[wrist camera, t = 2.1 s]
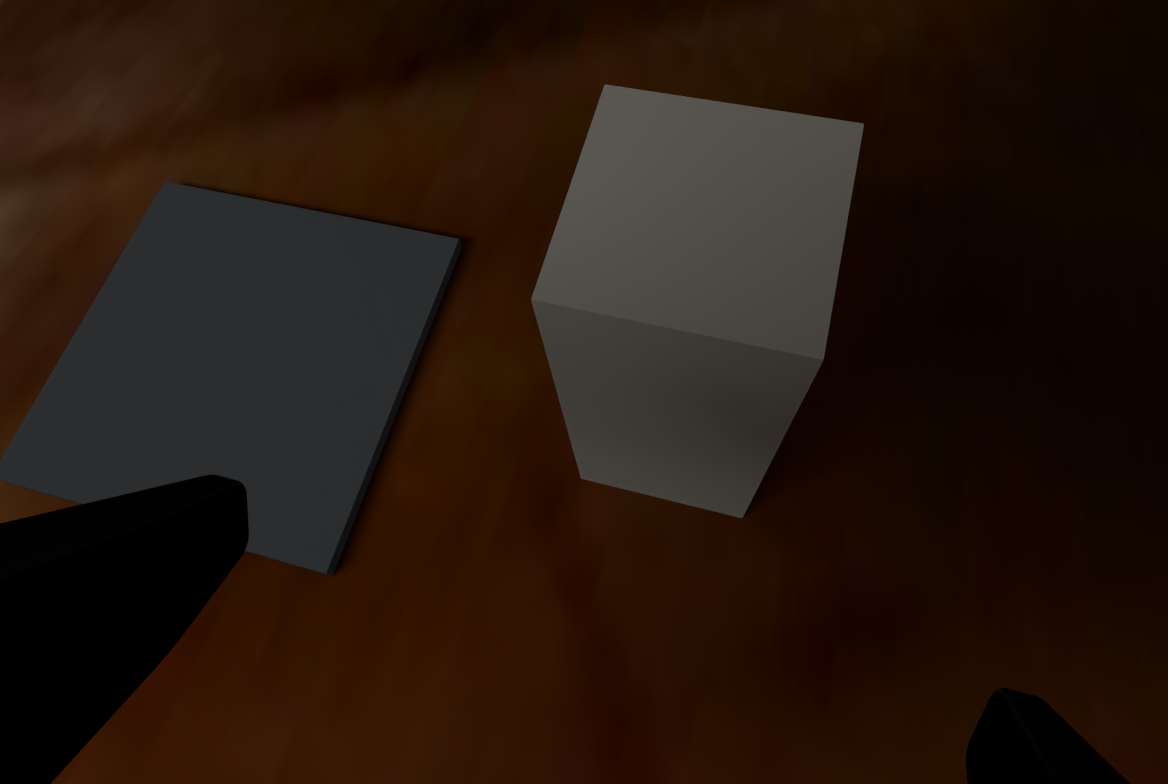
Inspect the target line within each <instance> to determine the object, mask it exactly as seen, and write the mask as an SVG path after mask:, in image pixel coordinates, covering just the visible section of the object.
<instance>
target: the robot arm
mask: <svg viewBox="0 0 1168 784" xmlns="http://www.w3.org/2000/svg"><path fill="white" fill-rule="evenodd" d="M248 539H249V524H248V505H247V491H246V488H245V486H244V484H243V483H241V482H240V481H238V480H235V479H231V478H227V477H224V476H220V475H215V474H209V475H204V476H200V477H196V478H192V479H187V480H183V481H179V482H175V483H170V484H166V485H162V486H158V487H153V488H149V489H145V490H141V491H136V492H132V493H128V494H124V495H119V496H115V497H111V498H107V499H102V500H98V501H94V502H90V503H86V504H81V505H77V506H73V507H69V508H64V509H60V510H56V511H52V512H47V513H43V514H39V515H35V516H30V517H26V518H22V519H18V520H13V521H9V522H5V523H1V524H0V784H51V783H52V781H53V780H54V779H55V778H56V777H57V776H58V775H59V774H60V773H61V772H62V770H63V769H64V768H65V767H66V766H67V765H68V764H69V763H70V762H71V761H72V759H73V758H74V757H75V756H76V755H77V754H78V753H79V752H80V751H81V750H82V748H83V747H84V746H85V745H86V744H87V743H88V742H89V741H90V740H91V739H92V737H93V736H94V735H95V734H96V733H97V732H98V731H99V730H100V729H101V728H102V726H103V725H104V724H105V723H106V722H107V721H108V720H109V719H110V718H111V717H112V715H113V714H114V713H115V712H116V711H117V710H118V709H119V708H120V707H121V706H122V704H123V703H124V702H125V701H126V700H127V699H128V698H129V697H130V696H131V695H132V693H133V692H134V691H135V690H136V689H137V688H138V687H139V686H140V685H141V684H142V682H143V681H144V680H145V679H146V678H147V677H148V676H149V675H150V674H151V672H152V671H153V670H154V669H155V668H156V667H157V666H158V665H159V663H160V662H161V661H162V660H163V659H164V658H165V657H166V655H167V654H168V653H169V652H170V651H171V649H172V648H173V647H174V646H175V644H176V643H177V642H178V641H179V639H180V638H181V637H182V636H183V634H184V633H185V631H186V630H187V629H188V627H189V626H190V625H191V623H192V622H193V621H194V619H195V618H196V617H197V615H198V614H199V613H200V611H201V610H202V609H203V607H204V606H205V605H206V603H207V602H208V601H209V599H210V598H211V597H212V595H213V594H214V593H215V591H216V590H217V589H218V587H219V586H220V585H221V583H222V582H223V581H224V579H225V578H226V577H227V575H228V574H229V573H230V571H231V570H232V569H233V567H234V566H235V565H236V563H237V562H238V561H239V559H240V558H241V557H242V555H243V553H244V551H245V549H246V547H247V544H248ZM966 770H967V781H968V784H1130V783H1129V782H1128V781H1127V780H1126V779H1125V778H1124V777H1122V776H1121V775H1120V774H1119V773H1118V772H1117V771H1116V770H1115V769H1114V768H1113V767H1112V766H1111V765H1110V764H1109V763H1108V762H1107V761H1106V760H1105V759H1104V758H1103V757H1102V756H1101V755H1100V754H1099V753H1098V752H1097V751H1096V750H1095V749H1094V748H1093V747H1092V746H1091V745H1089V744H1088V743H1087V742H1086V741H1085V740H1084V739H1083V738H1082V737H1081V736H1080V735H1079V734H1078V733H1077V732H1076V731H1075V730H1074V729H1073V728H1072V727H1071V726H1070V725H1069V724H1068V723H1067V722H1066V721H1065V720H1064V719H1063V718H1062V717H1061V716H1060V715H1059V714H1058V713H1056V712H1055V711H1054V710H1053V709H1052V708H1051V707H1050V706H1049V705H1048V704H1047V703H1046V702H1045V701H1044V700H1042V699H1041V698H1039V697H1037V696H1033V695H1030V694H1026V693H1022V692H1018V691H1015V690H1011V689H1007V688H1000V689H997V690H996V691H995V692H994V693H993V694H992V695H991V697H990V699H989V701H988V703H987V705H986V707H985V709H984V711H983V713H982V716H981V718H980V720H979V722H978V724H977V726H976V728H975V730H974V733H973V735H972V737H971V739H970V741H969V744H968V748H967V754H966Z"/></svg>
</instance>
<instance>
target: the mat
mask: <svg viewBox="0 0 1168 784" xmlns="http://www.w3.org/2000/svg"><path fill="white" fill-rule="evenodd" d="M461 249H462V245H461V243H460V240H459V239H457V238H452V237H447V236H442V235H437V234H432V233H427V232H422V231H416V230H411V229H406V228H401V227H396V226H391V225H386V224H380V223H375V222H370V221H365V220H360V219H355V218H350V217H345V216H339V215H334V214H329V213H324V212H319V211H314V210H309V209H304V208H298V207H293V206H288V205H283V204H278V203H273V202H268V201H262V200H257V199H252V198H247V197H242V196H237V195H232V194H227V193H221V192H216V191H211V190H206V189H201V188H196V187H191V186H186V185H180V184H175V183H170V182H164V183H163V185H162V187H161V188H160V190H159V192H158V193H157V195H156V197H155V198H154V200H153V202H152V204H151V205H150V207H149V209H148V210H147V212H146V214H145V215H144V217H143V219H142V221H141V222H140V224H139V226H138V227H137V229H136V231H135V232H134V234H133V236H132V237H131V239H130V241H129V243H128V244H127V246H126V248H125V249H124V251H123V253H122V254H121V256H120V258H119V260H118V261H117V263H116V265H115V266H114V268H113V270H112V271H111V273H110V275H109V276H108V278H107V280H106V282H105V283H104V285H103V287H102V288H101V290H100V292H99V293H98V295H97V297H96V299H95V300H94V302H93V304H92V305H91V307H90V309H89V310H88V312H87V314H86V315H85V317H84V319H83V321H82V322H81V324H80V326H79V327H78V329H77V331H76V332H75V334H74V336H73V338H72V339H71V341H70V343H69V344H68V346H67V348H66V349H65V351H64V353H63V354H62V356H61V358H60V360H59V361H58V363H57V365H56V366H55V368H54V370H53V371H52V373H51V375H50V377H49V378H48V380H47V382H46V383H45V385H44V387H43V388H42V390H41V392H40V393H39V395H38V397H37V399H36V400H35V402H34V404H33V405H32V407H31V409H30V410H29V412H28V414H27V416H26V417H25V419H24V421H23V422H22V424H21V426H20V427H19V429H18V431H17V433H16V434H15V436H14V438H13V439H12V441H11V443H10V444H9V446H8V448H7V449H6V451H5V453H4V455H3V456H2V458H1V460H0V481H3V482H7V483H10V484H14V485H17V486H21V487H24V488H28V489H31V490H35V491H38V492H42V493H45V494H49V495H52V496H56V497H59V498H62V499H66V500H69V501H73V502H76V503H80V504H86V503H90V502H94V501H98V500H102V499H107V498H111V497H115V496H119V495H124V494H128V493H132V492H136V491H141V490H145V489H149V488H153V487H158V486H162V485H166V484H170V483H175V482H179V481H183V480H187V479H192V478H196V477H200V476H204V475H209V474H215V475H220V476H224V477H227V478H231V479H235V480H238V481H240V482H241V483H243V484H244V486H245V488H246V491H247V505H248V524H249V539H248V544H247V547H246V549H245V551H247V552H251V553H254V554H258V555H261V556H265V557H268V558H272V559H275V560H279V561H282V562H285V563H289V564H292V565H296V566H299V567H303V568H306V569H310V570H313V571H317V572H320V573H324V574H327V575H331V576H333V574H334V572H335V569H336V566H337V564H338V561H339V559H340V556H341V554H342V551H343V549H344V546H345V544H346V541H347V539H348V536H349V533H350V531H351V528H352V526H353V523H354V521H355V518H356V516H357V513H358V511H359V508H360V505H361V503H362V500H363V498H364V495H365V493H366V490H367V488H368V485H369V483H370V480H371V478H372V475H373V472H374V470H375V467H376V465H377V462H378V460H379V457H380V455H381V452H382V450H383V447H384V444H385V442H386V439H387V437H388V434H389V432H390V429H391V427H392V424H393V422H394V419H395V416H396V414H397V411H398V409H399V406H400V404H401V401H402V399H403V396H404V394H405V391H406V389H407V386H408V383H409V381H410V378H411V376H412V373H413V371H414V368H415V366H416V363H417V361H418V358H419V355H420V353H421V350H422V348H423V345H424V343H425V340H426V338H427V335H428V333H429V330H430V328H431V325H432V322H433V320H434V317H435V315H436V312H437V310H438V307H439V305H440V302H441V300H442V297H443V294H444V292H445V289H446V287H447V284H448V282H449V279H450V277H451V274H452V272H453V269H454V266H455V264H456V261H457V259H458V256H459V254H460V251H461Z"/></svg>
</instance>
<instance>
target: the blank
mask: <svg viewBox="0 0 1168 784" xmlns="http://www.w3.org/2000/svg"><path fill="white" fill-rule="evenodd" d="M863 126H864V124H862V123H856V122H849V121H842V120H836V119H829V118H823V117H816V116H809V115H803V114H796V113H790V112H783V111H776V110H770V109H763V108H757V107H750V106H743V105H737V104H730V103H724V102H717V101H710V100H704V99H697V98H691V97H684V96H677V95H671V94H664V93H658V92H651V91H644V90H638V89H631V88H625V87H618V86H611V85H604V88H603V91H602V94H601V97H600V100H599V103H598V106H597V109H596V112H595V114H594V117H593V120H592V123H591V126H590V129H589V132H588V135H587V138H586V141H585V144H584V147H583V149H582V152H581V155H580V158H579V161H578V164H577V167H576V170H575V173H574V176H573V179H572V182H571V185H570V187H569V190H568V193H567V196H566V199H565V202H564V205H563V208H562V211H561V214H560V217H559V220H558V223H557V225H556V228H555V231H554V234H553V237H552V240H551V243H550V246H549V249H548V252H547V255H546V258H545V260H544V263H543V266H542V269H541V272H540V275H539V278H538V281H537V284H536V287H535V290H534V293H533V296H532V298H531V301H532V304H533V308H534V312H535V315H536V319H537V322H538V326H539V329H540V333H541V337H542V340H543V344H544V347H545V351H546V355H547V358H548V362H549V365H550V369H551V372H552V376H553V380H554V383H555V387H556V390H557V394H558V398H559V401H560V405H561V408H562V412H563V415H564V419H565V423H566V426H567V430H568V433H569V437H570V441H571V444H572V448H573V451H574V455H575V458H576V462H577V466H578V469H579V473H580V476H581V479H585V480H589V481H593V482H597V483H601V484H605V485H609V486H613V487H617V488H621V489H626V490H630V491H634V492H638V493H642V494H646V495H650V496H654V497H658V498H662V499H666V500H670V501H674V502H678V503H682V504H686V505H690V506H694V507H699V508H703V509H707V510H711V511H715V512H719V513H723V514H727V515H731V516H735V517H739V518H743V516H744V514H745V512H746V510H747V508H748V506H749V504H750V502H751V500H752V498H753V496H754V494H755V493H756V491H757V489H758V487H759V485H760V483H761V481H762V479H763V477H764V475H765V473H766V471H767V469H768V467H769V465H770V463H771V461H772V459H773V457H774V455H775V454H776V452H777V450H778V448H779V446H780V444H781V442H782V440H783V438H784V436H785V434H786V432H787V430H788V428H789V426H790V424H791V422H792V420H793V418H794V416H795V415H796V413H797V411H798V409H799V407H800V405H801V403H802V401H803V399H804V397H805V395H806V393H807V391H808V389H809V387H810V385H811V383H812V381H813V379H814V377H815V376H816V374H817V372H818V370H819V368H820V366H821V364H822V362H823V360H824V354H825V348H826V343H827V337H828V331H829V325H830V319H831V313H832V307H833V302H834V296H835V290H836V284H837V278H838V272H839V267H840V261H841V255H842V249H843V243H844V237H845V232H846V226H847V220H848V214H849V208H850V202H851V196H852V191H853V185H854V179H855V173H856V167H857V161H858V156H859V150H860V144H861V138H862V132H863Z"/></svg>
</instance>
